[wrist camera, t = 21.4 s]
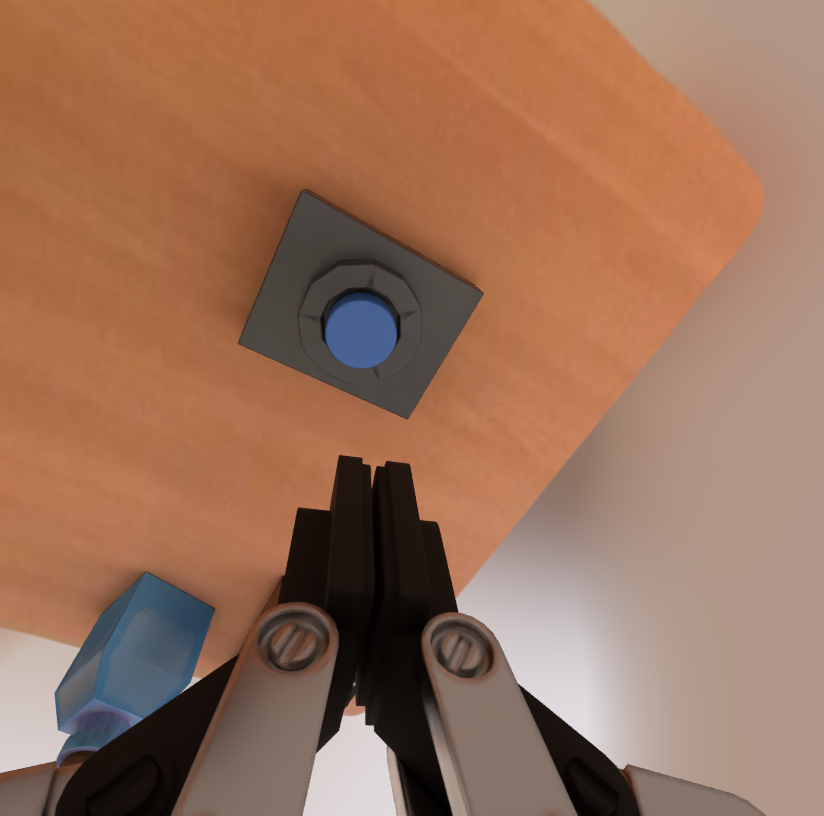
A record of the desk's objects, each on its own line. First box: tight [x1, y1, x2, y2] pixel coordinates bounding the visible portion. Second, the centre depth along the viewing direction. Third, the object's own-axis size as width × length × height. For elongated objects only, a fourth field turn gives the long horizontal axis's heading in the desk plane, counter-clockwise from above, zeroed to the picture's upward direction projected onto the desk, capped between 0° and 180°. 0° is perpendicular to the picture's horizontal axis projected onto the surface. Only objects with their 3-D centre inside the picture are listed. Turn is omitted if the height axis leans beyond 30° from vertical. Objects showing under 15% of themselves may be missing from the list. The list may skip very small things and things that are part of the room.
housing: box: [238, 189, 484, 419], centre depth 26 cm, size 11×9×4 cm
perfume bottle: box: [55, 572, 215, 768], centre depth 32 cm, size 6×6×12 cm
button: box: [325, 292, 397, 368], centre depth 24 cm, size 4×4×2 cm
